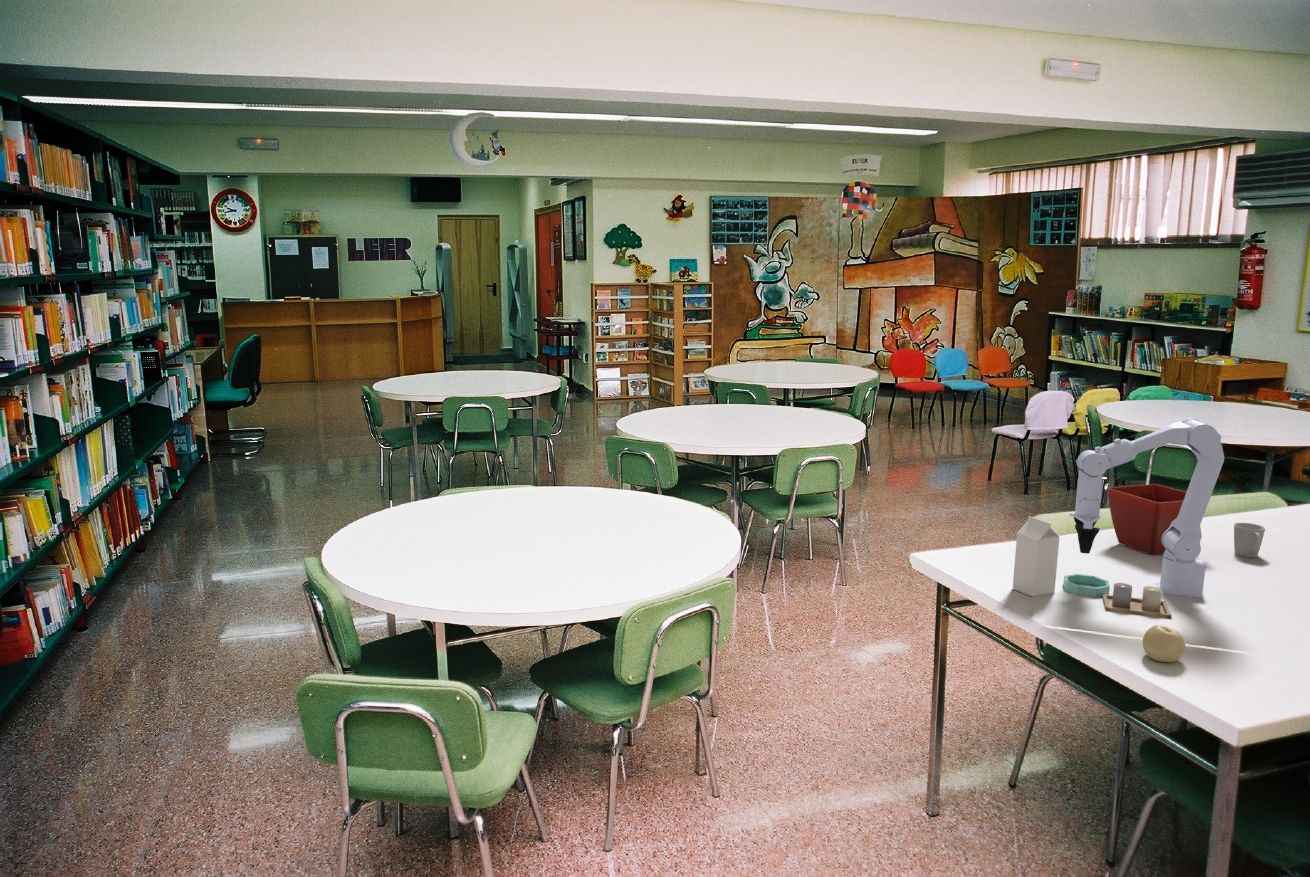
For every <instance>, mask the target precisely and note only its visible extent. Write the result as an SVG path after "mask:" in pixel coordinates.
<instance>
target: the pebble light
mask: <svg viewBox="0 0 1310 877" xmlns="http://www.w3.org/2000/svg"><path fill="white" fill-rule="evenodd" d="M1162 595H1163V593H1162V590H1161V589H1160V588H1158V586H1157V587H1155V586H1150V585H1149V586H1144V587H1143V589H1142V596H1141V598H1142V605H1141V608H1142V609H1143V610H1146V611H1150V612H1159V611H1160V606H1161V601H1162V597H1163V596H1162Z"/></svg>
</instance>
